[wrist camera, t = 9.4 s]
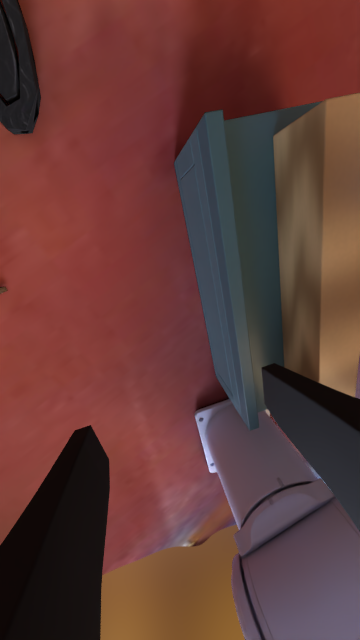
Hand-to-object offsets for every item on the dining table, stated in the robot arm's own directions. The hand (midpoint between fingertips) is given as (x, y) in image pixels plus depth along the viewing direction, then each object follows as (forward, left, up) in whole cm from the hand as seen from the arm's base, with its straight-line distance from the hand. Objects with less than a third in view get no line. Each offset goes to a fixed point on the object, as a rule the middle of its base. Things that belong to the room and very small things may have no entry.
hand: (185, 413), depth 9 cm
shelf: (+2, -9, -10) cm, 14 cm away
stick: (+2, -9, -5) cm, 10 cm away
